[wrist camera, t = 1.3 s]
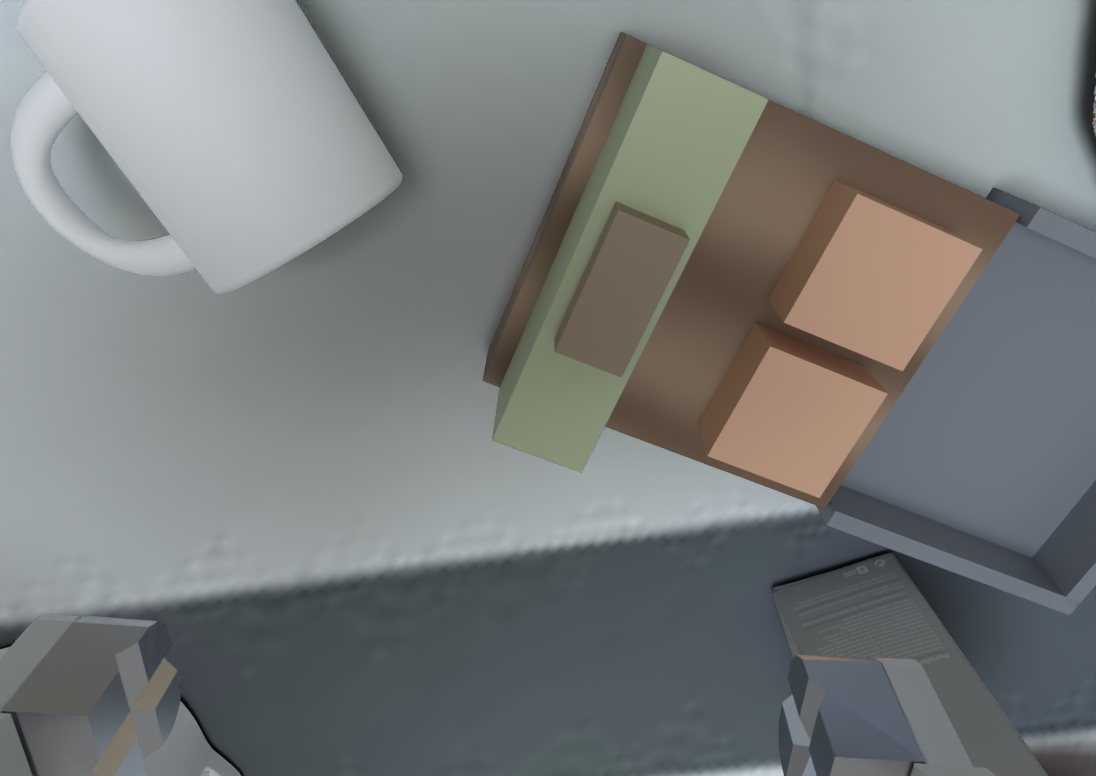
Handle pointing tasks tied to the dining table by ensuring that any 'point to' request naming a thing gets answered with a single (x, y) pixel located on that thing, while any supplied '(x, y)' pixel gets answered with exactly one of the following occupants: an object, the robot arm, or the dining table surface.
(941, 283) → the tile
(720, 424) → the tile
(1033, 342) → the tray
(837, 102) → the dining table surface
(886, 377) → the brown flat block
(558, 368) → the green bar
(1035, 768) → the skincare box
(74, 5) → the mug
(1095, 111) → the food plate
